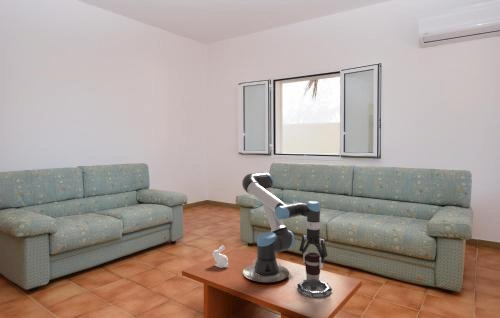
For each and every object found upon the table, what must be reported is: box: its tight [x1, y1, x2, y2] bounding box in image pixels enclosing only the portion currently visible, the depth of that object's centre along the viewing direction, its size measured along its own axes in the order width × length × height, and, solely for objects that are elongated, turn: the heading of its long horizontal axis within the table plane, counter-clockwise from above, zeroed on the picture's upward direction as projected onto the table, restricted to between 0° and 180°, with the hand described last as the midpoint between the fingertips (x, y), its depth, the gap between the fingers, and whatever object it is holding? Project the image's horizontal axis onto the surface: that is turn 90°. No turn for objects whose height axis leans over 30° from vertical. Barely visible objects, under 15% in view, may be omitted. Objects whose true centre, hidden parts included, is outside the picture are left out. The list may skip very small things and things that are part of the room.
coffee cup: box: [304, 252, 321, 281], centre depth 187 cm, size 10×10×15 cm
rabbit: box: [212, 244, 229, 269], centre depth 209 cm, size 12×9×12 cm
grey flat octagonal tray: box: [296, 279, 333, 299], centre depth 175 cm, size 18×18×2 cm
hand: (312, 265), depth 187 cm, fingers closed on coffee cup, 10 cm apart
